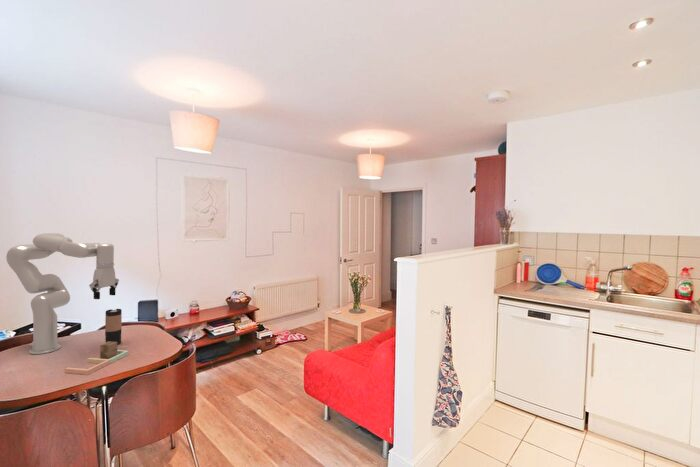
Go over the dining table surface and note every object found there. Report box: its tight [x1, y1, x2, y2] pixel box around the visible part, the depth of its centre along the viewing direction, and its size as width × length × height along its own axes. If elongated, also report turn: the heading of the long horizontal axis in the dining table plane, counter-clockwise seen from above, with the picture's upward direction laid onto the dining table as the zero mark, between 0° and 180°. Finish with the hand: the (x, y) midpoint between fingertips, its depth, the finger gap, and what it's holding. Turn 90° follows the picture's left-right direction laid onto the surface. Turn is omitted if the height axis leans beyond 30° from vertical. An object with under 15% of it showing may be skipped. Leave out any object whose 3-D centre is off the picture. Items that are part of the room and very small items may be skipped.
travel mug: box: [104, 308, 123, 346], centre depth 183 cm, size 8×8×20 cm
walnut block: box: [99, 341, 118, 359], centre depth 165 cm, size 5×5×8 cm
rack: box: [64, 349, 130, 376], centre depth 159 cm, size 12×24×2 cm, turn 174°
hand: (104, 297), depth 173 cm, fingers open, 9 cm apart
